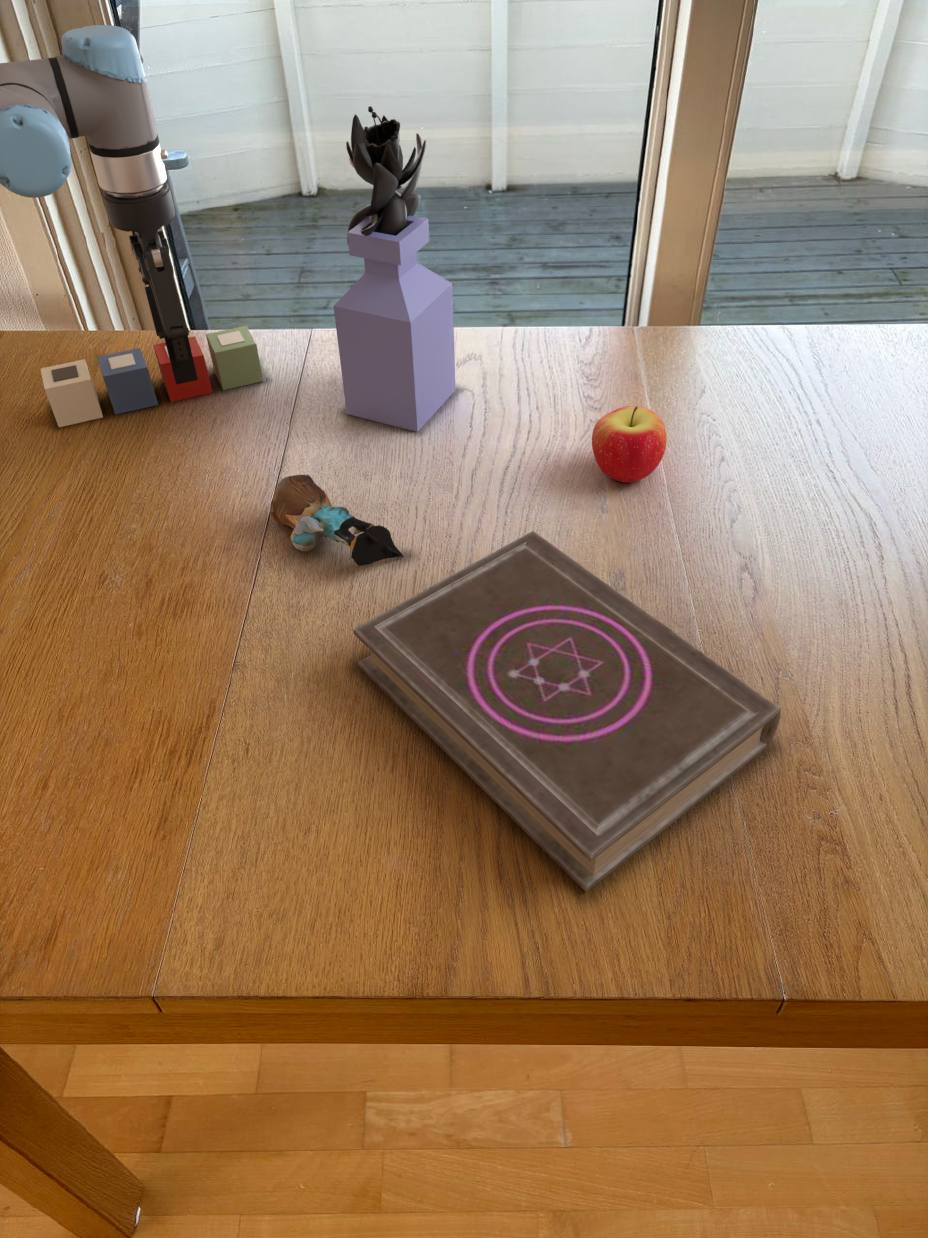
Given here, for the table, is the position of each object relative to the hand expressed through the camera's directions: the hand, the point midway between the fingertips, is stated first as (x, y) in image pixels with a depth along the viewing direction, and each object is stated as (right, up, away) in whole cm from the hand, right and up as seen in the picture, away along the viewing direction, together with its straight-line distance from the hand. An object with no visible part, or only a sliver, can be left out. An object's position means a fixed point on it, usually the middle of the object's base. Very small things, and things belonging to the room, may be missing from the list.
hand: (176, 356), depth 123 cm
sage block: (+7, -1, +5) cm, 9 cm away
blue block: (-6, -5, +2) cm, 8 cm away
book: (+46, -42, -37) cm, 72 cm away
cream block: (-13, -7, 0) cm, 15 cm away
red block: (0, -3, +3) cm, 5 cm away
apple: (+56, -17, -12) cm, 60 cm away
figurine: (+23, -26, -20) cm, 40 cm away
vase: (+29, -6, 0) cm, 30 cm away
